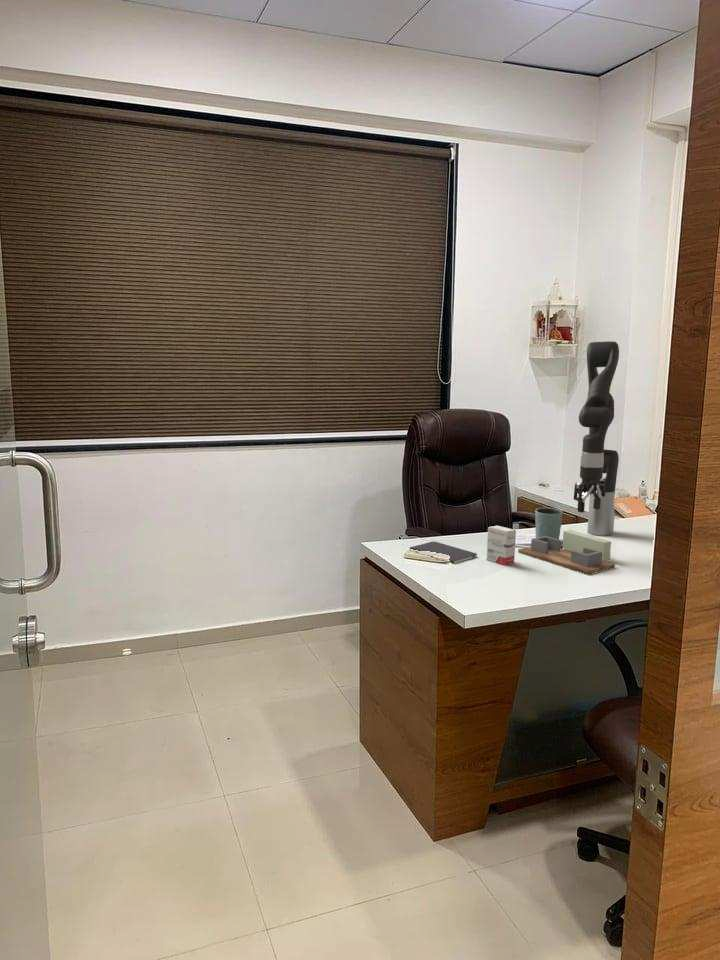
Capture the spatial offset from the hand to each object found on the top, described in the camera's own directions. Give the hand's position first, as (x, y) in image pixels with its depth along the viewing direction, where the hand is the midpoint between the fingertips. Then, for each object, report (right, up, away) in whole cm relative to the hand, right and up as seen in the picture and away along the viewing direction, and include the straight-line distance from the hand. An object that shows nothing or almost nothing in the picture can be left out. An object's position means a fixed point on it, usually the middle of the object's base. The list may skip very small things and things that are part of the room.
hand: (588, 510), depth 245 cm
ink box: (-32, -17, -5) cm, 37 cm away
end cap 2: (-4, -17, -10) cm, 20 cm away
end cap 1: (-14, -14, +4) cm, 20 cm away
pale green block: (0, -16, +3) cm, 16 cm away
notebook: (-50, -16, +4) cm, 53 cm away
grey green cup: (-9, -13, +20) cm, 25 cm away
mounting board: (-9, -17, -3) cm, 19 cm away
